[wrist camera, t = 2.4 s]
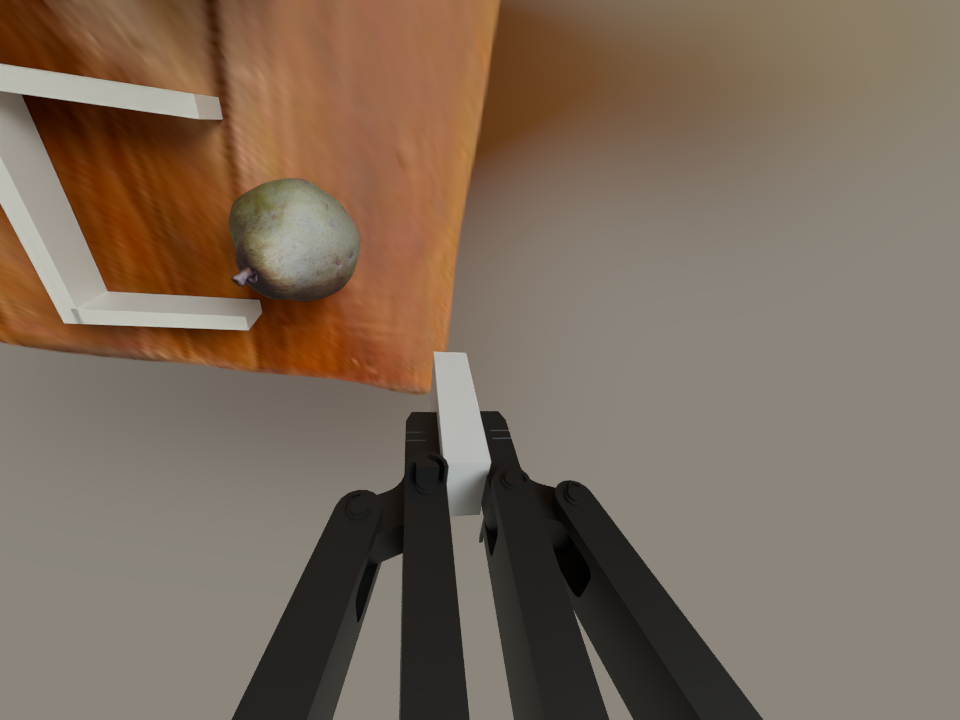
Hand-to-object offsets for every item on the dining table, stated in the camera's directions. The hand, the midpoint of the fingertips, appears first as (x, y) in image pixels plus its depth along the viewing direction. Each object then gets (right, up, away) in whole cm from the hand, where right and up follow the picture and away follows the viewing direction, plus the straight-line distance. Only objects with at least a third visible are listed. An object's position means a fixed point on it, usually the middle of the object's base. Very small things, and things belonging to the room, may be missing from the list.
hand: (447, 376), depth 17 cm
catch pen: (-28, +14, +15) cm, 34 cm away
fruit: (-15, +14, +18) cm, 27 cm away
